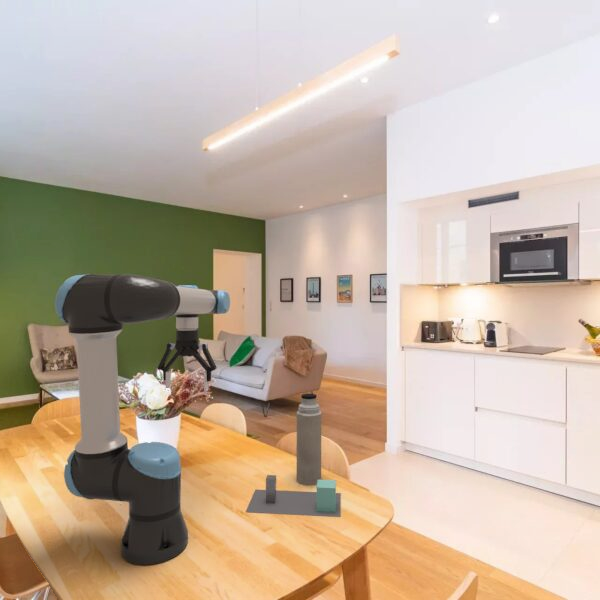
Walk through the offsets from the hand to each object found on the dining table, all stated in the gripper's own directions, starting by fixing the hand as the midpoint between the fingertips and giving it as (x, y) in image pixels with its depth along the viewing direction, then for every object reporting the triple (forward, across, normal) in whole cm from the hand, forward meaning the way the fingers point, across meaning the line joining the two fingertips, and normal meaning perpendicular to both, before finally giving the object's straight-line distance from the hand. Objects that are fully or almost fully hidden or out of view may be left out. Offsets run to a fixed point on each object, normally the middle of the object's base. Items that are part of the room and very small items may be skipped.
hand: (187, 390), depth 150 cm
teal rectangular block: (+26, -49, +26) cm, 61 cm away
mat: (+27, -40, +24) cm, 54 cm away
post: (+26, -33, +24) cm, 48 cm away
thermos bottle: (+27, -43, +8) cm, 51 cm away
